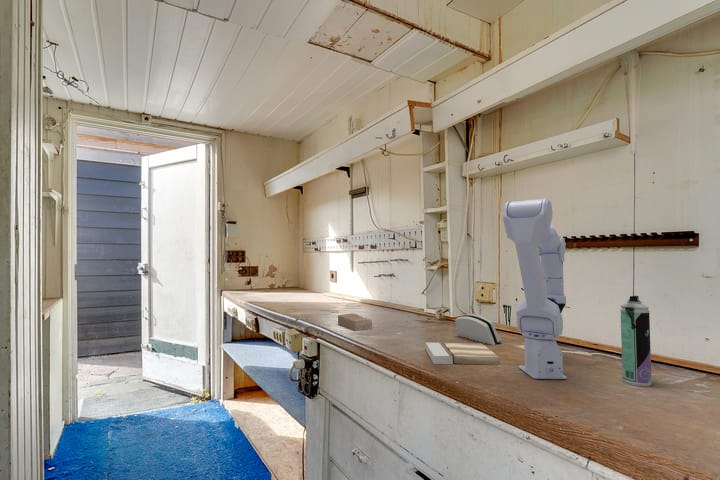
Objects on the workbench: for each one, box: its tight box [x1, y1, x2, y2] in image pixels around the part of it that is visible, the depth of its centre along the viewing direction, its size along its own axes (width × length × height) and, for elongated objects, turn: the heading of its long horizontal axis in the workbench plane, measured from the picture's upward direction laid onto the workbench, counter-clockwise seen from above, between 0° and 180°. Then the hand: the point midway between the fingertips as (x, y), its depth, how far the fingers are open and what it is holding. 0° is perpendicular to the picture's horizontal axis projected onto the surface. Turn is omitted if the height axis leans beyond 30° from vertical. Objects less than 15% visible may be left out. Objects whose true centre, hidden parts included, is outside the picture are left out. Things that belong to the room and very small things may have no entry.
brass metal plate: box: [443, 342, 500, 366], centre depth 112 cm, size 16×12×2 cm
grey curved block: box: [454, 313, 503, 346], centre depth 134 cm, size 17×5×10 cm, turn 28°
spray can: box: [620, 295, 653, 387], centre depth 89 cm, size 6×6×20 cm
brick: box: [337, 312, 373, 332], centre depth 158 cm, size 16×8×5 cm, turn 29°
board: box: [425, 341, 454, 365], centre depth 112 cm, size 16×5×2 cm, turn 178°
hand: (553, 326), depth 108 cm, fingers closed
